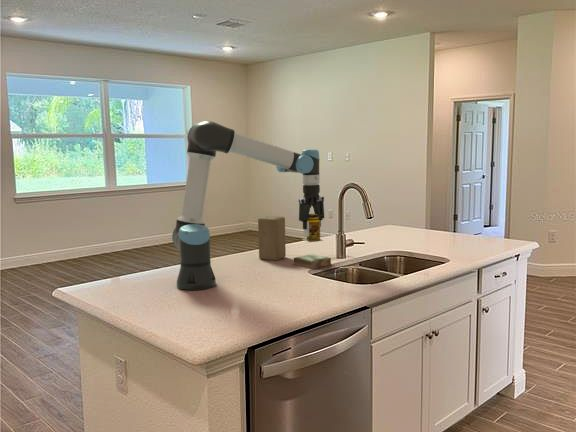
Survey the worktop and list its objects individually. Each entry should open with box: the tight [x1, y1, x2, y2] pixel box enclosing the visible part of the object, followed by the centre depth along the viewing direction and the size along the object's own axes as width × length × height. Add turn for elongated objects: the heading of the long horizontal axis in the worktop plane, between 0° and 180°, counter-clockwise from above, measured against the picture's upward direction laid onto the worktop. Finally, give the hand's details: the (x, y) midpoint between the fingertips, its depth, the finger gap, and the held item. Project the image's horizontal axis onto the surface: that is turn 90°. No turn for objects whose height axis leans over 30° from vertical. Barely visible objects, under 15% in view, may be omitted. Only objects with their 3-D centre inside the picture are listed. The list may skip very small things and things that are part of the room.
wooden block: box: [257, 215, 286, 262], centre depth 247 cm, size 10×10×20 cm
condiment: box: [301, 213, 324, 243], centre depth 232 cm, size 7×8×12 cm
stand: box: [293, 253, 332, 270], centre depth 234 cm, size 12×12×3 cm
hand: (312, 235), depth 233 cm, fingers closed on condiment, 6 cm apart
